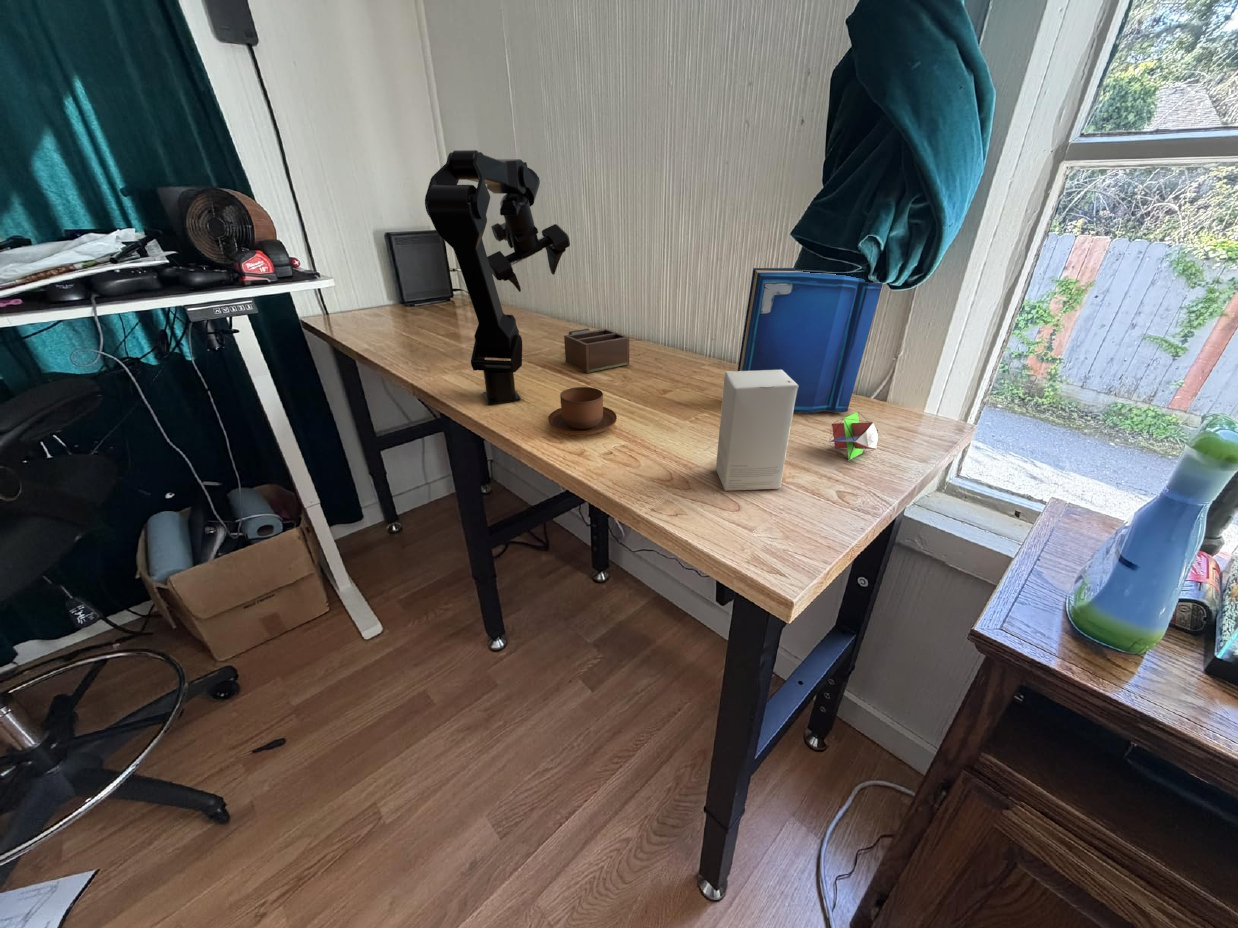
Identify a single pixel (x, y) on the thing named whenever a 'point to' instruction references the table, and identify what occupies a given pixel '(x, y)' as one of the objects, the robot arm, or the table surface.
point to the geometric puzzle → (854, 435)
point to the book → (809, 332)
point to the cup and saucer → (582, 412)
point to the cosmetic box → (754, 428)
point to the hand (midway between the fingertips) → (536, 282)
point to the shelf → (596, 349)
